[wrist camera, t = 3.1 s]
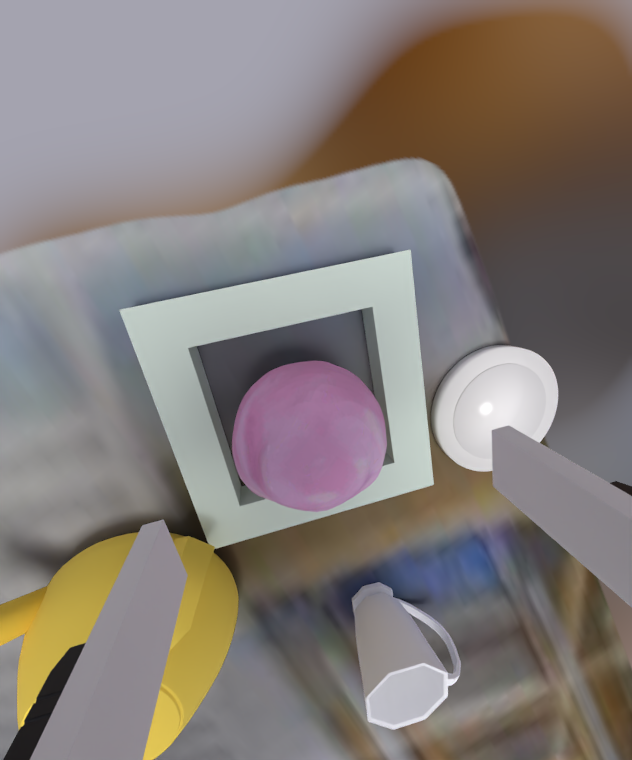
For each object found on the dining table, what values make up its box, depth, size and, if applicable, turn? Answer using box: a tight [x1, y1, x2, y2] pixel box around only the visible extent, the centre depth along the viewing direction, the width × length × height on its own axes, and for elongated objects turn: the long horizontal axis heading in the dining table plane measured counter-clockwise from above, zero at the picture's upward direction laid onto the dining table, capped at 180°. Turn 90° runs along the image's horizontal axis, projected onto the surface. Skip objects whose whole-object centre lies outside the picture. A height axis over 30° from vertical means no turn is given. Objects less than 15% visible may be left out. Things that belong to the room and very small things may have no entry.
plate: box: [431, 345, 558, 471], centre depth 27 cm, size 11×11×1 cm
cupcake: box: [232, 361, 387, 512], centre depth 20 cm, size 9×9×10 cm
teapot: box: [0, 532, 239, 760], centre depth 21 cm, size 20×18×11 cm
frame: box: [120, 250, 434, 549], centre depth 24 cm, size 18×18×2 cm
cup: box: [352, 582, 461, 730], centre depth 28 cm, size 7×10×8 cm
